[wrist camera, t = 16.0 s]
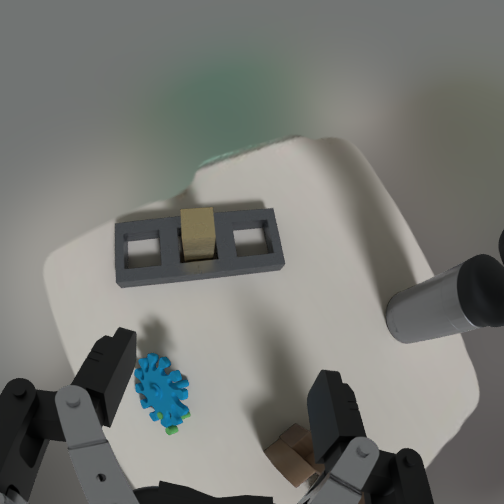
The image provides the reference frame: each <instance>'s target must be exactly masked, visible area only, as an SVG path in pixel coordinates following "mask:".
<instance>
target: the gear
mask: <svg viewBox="0 0 504 504" xmlns="http://www.w3.org/2000/svg"><path fill="white" fill-rule="evenodd" d="M147 357H148V358H147ZM147 357H146V358H141V359H139V360H138V362H139V365H140V366H141V368H138V369H136V370H135V372H134V375H135V376H136V377H137V378H138V379H139V380H140V381H141V383H138V384H136V385H135V389H136V392H137V393H142V394H144V395H145V396H146V397H147V399H143V400H141V401H140V402H141V405H142V407H143V408H144V409H145V408H148V407H150V406H153V408H154V409H155V411H154V412H151V413H150V414H149V415H150V417H151V419H152V420H153V421H157V420H159V419H161V424H162V425H163V426H164V427H166V429H165V430H166V433H167V434H168V435H171V434H174V433H176V432H178V428H177V426H176V425H178V424H181V423H183V421H182V419H185V418H187V417H189V416H190V413H189V412H188V411H189V409H188V407H187V406H186V405H184V404H182V403H181V401H180V400H184V399H187V398H188V390H187V389H185V388H184V387H187V386H189V382H188V380H186V379H185V380H182V377H181V374H180V371H179V370H175V371H172V372H170V374H169V375H167V374H166V373H165V370H164V369H165V368H166V367H170V365H171V362H170V360H169V359H168V358H167V357H162V358H160V359H159V356H158V355H157V354H155V353H150V354H148V355H147ZM158 360H159V365H158V368H156V363H157V361H158ZM180 380H182V381H180ZM172 381H173V382H175V383H173V382H172ZM176 381H178V382H176ZM181 388H183V389H181ZM178 398H179V399H180V400H179V399H178ZM167 427H168V428H167Z"/></svg>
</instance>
